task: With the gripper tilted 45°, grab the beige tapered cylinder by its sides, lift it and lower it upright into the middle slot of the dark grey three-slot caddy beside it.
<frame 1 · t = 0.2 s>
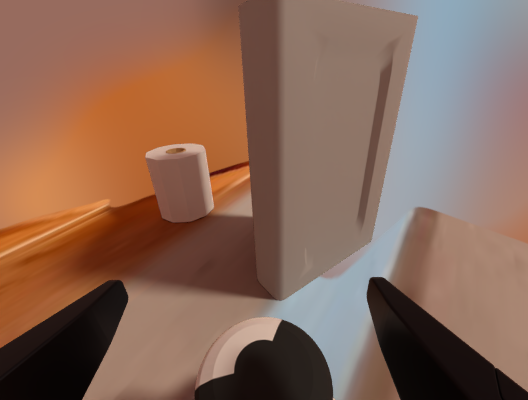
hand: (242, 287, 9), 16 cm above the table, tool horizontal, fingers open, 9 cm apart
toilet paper: (188, 210, 48), on the table
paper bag: (295, 241, 38), on the table
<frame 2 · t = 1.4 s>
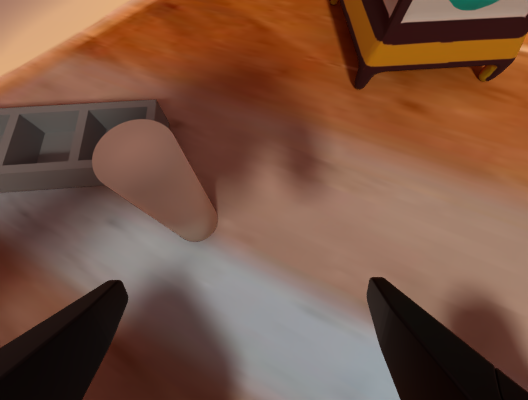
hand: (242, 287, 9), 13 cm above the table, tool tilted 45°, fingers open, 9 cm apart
beige tapered cylinder: (196, 220, 23), on the table
caddy: (71, 156, 25), on the table
decorative lantern: (400, 40, 32), on the table
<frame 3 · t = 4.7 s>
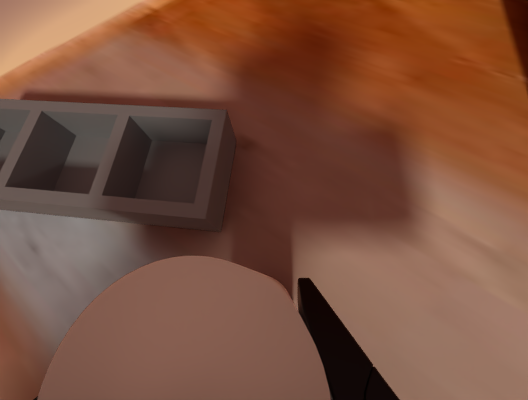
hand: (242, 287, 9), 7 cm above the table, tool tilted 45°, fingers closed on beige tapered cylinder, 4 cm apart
beige tapered cylinder: (259, 309, 14), on the table, touching gripper
caddy: (102, 173, 18), on the table
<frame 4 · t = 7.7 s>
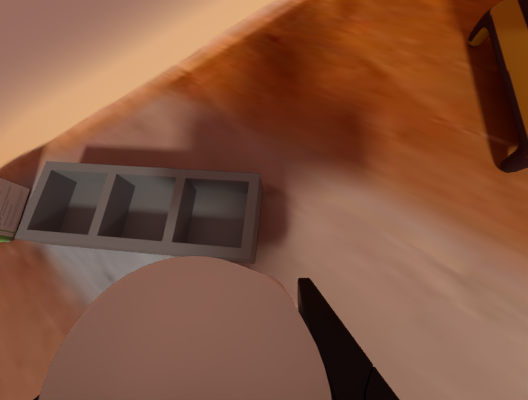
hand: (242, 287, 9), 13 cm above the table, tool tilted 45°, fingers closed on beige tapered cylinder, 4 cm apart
syrup box: (0, 214, 25), on the table
beige tapered cylinder: (259, 309, 14), point 6 cm above the table, touching gripper
caddy: (158, 216, 23), on the table
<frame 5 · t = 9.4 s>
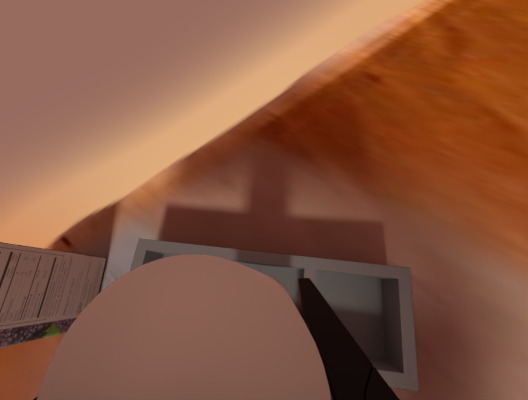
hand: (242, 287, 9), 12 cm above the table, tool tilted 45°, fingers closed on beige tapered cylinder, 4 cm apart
syrup box: (72, 288, 21), on the table
beige tapered cylinder: (259, 309, 14), point 5 cm above the table, touching gripper
caddy: (264, 301, 20), on the table
when the fingers open (8 cm above the table, at t = 10.7 s): beige tapered cylinder stays where it is, resting on caddy.
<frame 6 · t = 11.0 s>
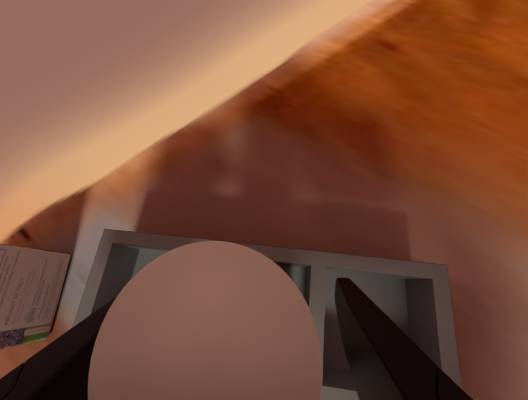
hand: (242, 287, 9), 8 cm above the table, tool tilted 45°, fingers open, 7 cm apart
syrup box: (29, 290, 18), on the table
beige tapered cylinder: (260, 308, 15), point 1 cm above the table, touching caddy
caddy: (261, 306, 16), on the table
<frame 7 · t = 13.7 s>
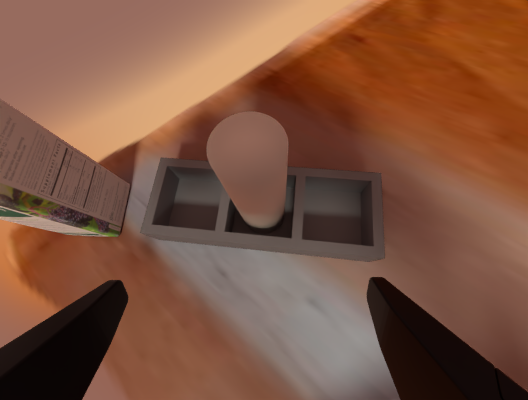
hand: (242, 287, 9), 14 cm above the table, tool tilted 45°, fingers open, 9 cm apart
syrup box: (102, 209, 25), on the table
beige tapered cylinder: (263, 212, 23), point 1 cm above the table, touching caddy
caddy: (264, 213, 24), on the table
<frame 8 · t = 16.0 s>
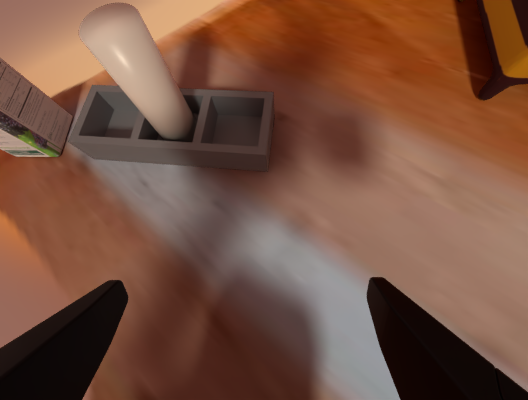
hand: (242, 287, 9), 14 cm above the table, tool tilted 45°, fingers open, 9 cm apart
syrup box: (47, 137, 29), on the table
beige tapered cylinder: (182, 134, 27), point 1 cm above the table, touching caddy
caddy: (184, 136, 27), on the table
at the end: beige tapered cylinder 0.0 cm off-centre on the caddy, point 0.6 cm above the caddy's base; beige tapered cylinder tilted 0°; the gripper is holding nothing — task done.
